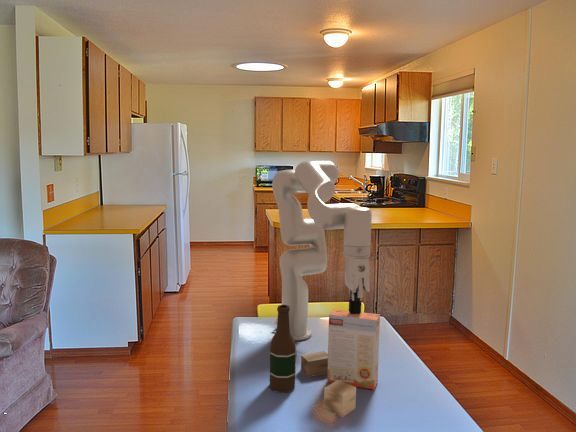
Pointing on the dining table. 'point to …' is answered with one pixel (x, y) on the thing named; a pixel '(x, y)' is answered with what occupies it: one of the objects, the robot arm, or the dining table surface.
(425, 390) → the dining table surface
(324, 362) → the walnut block
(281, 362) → the beer bottle
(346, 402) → the maple block
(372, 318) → the cracker box
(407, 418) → the dining table surface
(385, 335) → the dining table surface
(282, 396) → the dining table surface
